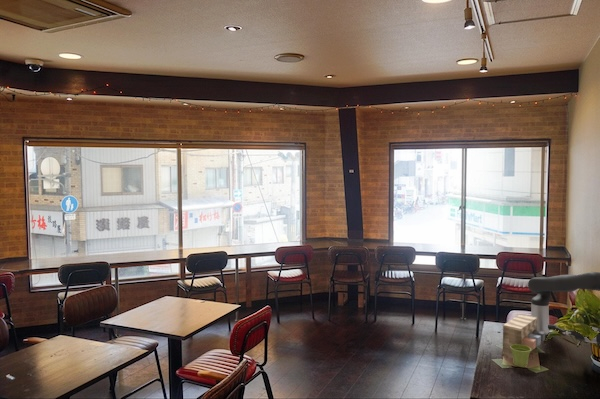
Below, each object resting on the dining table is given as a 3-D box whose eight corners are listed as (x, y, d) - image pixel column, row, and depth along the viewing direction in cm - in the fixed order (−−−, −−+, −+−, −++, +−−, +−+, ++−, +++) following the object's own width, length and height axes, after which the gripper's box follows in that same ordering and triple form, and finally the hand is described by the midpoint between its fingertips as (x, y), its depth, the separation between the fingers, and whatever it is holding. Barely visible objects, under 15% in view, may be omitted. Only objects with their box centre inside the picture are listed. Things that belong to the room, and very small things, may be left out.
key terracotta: (523, 344, 246) (523, 336, 245) (535, 347, 241) (536, 339, 241) (520, 346, 243) (521, 338, 242) (533, 349, 239) (533, 341, 238)
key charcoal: (533, 336, 256) (533, 329, 256) (545, 339, 252) (545, 332, 252) (530, 338, 254) (530, 331, 253) (542, 341, 249) (542, 334, 249)
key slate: (528, 340, 251) (528, 333, 251) (540, 343, 247) (540, 335, 247) (525, 342, 248) (526, 335, 248) (538, 345, 244) (538, 337, 244)
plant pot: (534, 368, 230) (534, 351, 229) (514, 368, 230) (515, 351, 230) (525, 361, 239) (525, 344, 239) (506, 361, 239) (507, 344, 239)
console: (519, 342, 264) (519, 314, 264) (536, 346, 258) (537, 317, 257) (502, 355, 246) (503, 325, 245) (520, 360, 240) (521, 328, 239)
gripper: (590, 323, 235) (552, 316, 247) (583, 329, 225) (544, 322, 237) (590, 337, 235) (552, 330, 247) (583, 344, 225) (544, 336, 237)
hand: (548, 326), depth 242 cm, fingers closed
